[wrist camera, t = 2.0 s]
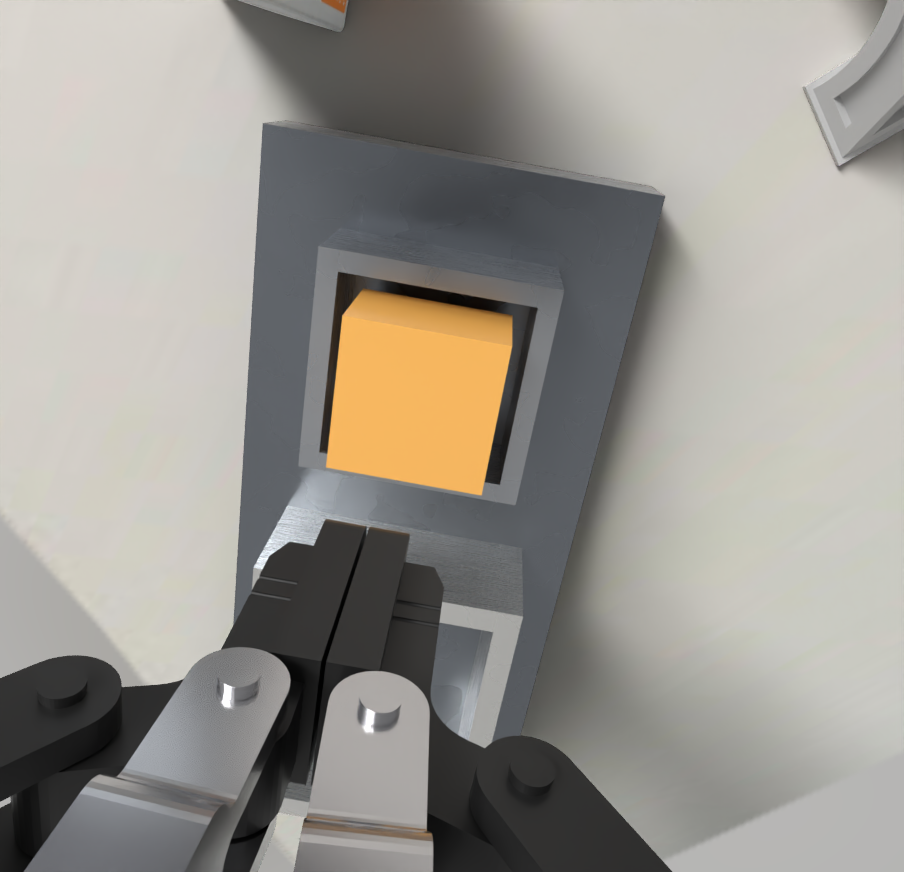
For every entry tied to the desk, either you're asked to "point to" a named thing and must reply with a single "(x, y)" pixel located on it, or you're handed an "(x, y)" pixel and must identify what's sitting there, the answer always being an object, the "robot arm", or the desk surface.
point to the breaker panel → (524, 395)
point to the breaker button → (418, 390)
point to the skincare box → (308, 11)
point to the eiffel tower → (863, 91)
